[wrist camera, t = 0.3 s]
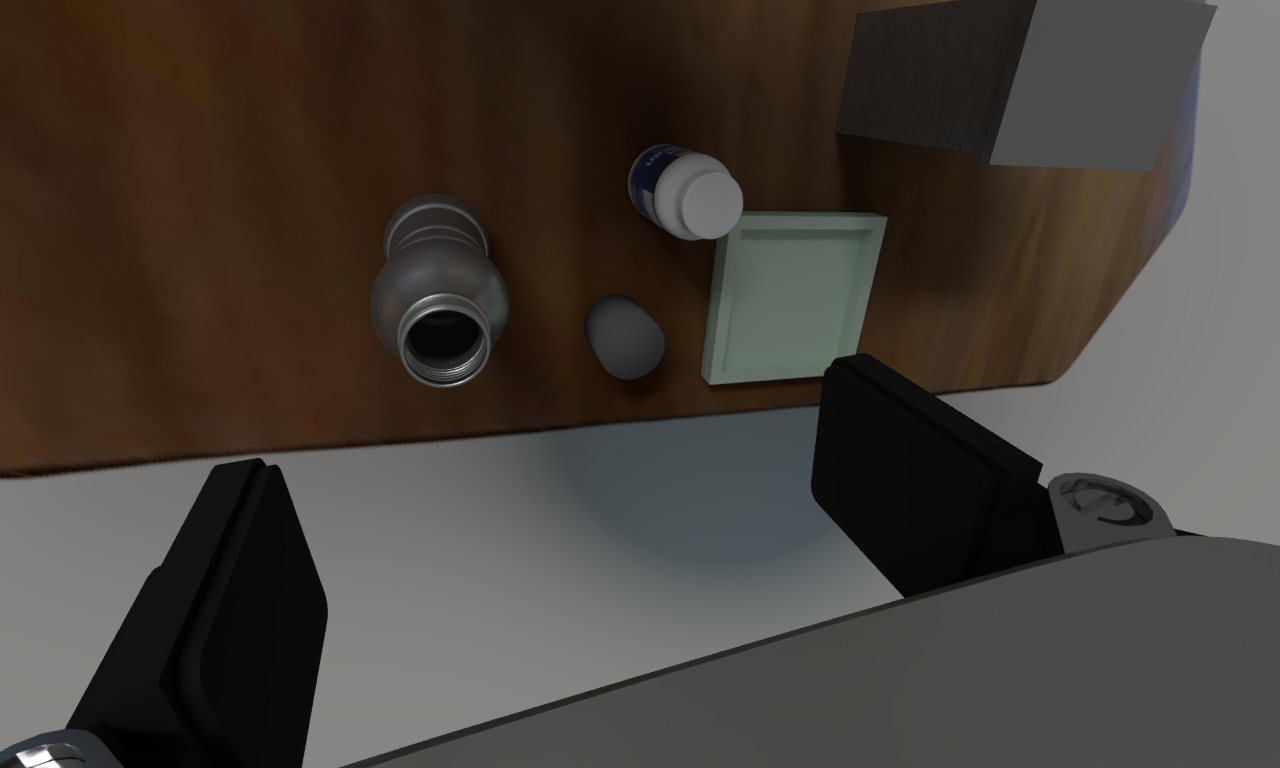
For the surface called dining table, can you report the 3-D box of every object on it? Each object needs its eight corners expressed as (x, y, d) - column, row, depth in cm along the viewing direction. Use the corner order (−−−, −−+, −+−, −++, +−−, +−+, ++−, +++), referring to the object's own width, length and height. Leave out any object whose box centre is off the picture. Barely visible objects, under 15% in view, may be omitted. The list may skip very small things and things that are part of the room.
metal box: (855, 4, 44) (1044, -25, 31) (995, 22, 48) (1218, 3, 35) (830, 138, 48) (989, 164, 35) (962, 145, 52) (1151, 171, 38)
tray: (720, 210, 48) (731, 215, 46) (872, 212, 52) (887, 217, 50) (700, 374, 54) (709, 384, 52) (838, 364, 58) (851, 373, 56)
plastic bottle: (505, 230, 44) (558, 333, 27) (444, 302, 45) (458, 444, 28) (428, 165, 41) (432, 234, 23) (364, 243, 41) (323, 364, 24)
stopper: (584, 295, 48) (600, 317, 43) (646, 293, 49) (667, 314, 45) (582, 355, 50) (597, 381, 46) (642, 351, 51) (662, 377, 47)
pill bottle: (680, 129, 44) (739, 142, 36) (705, 198, 47) (765, 225, 39) (614, 164, 44) (658, 186, 36) (643, 231, 47) (690, 266, 39)
